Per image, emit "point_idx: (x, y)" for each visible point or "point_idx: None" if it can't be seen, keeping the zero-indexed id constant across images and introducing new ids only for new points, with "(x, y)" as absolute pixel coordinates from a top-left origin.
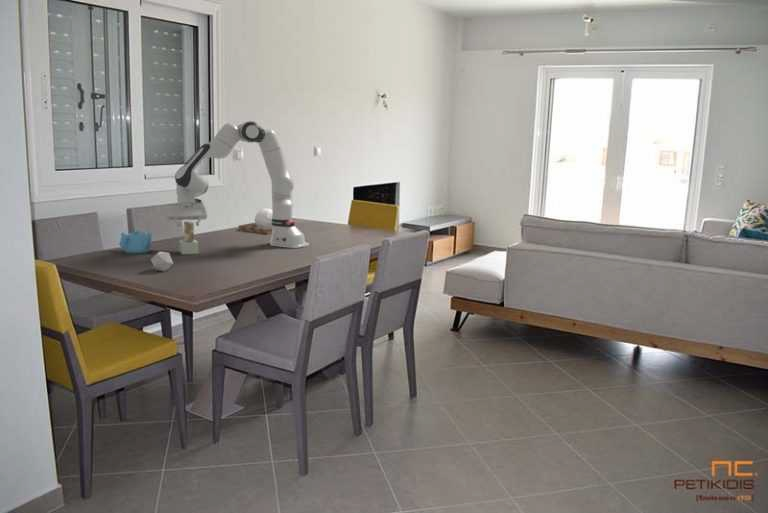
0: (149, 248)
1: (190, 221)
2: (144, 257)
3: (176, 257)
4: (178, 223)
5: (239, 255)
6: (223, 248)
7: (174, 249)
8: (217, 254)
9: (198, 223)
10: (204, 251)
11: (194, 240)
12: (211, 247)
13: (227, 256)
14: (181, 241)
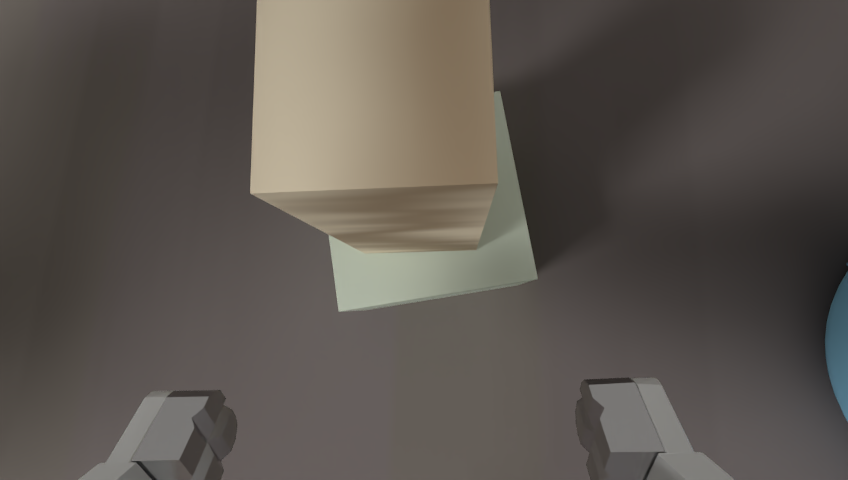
0: (842, 290)
1: (324, 140)
2: (819, 51)
3: (539, 25)
4: (628, 398)
5: (34, 53)
6: (98, 386)
7: (568, 404)
8: (195, 111)
9: (154, 398)
10: (288, 259)
11: (351, 252)
12: None
13: (131, 25)
14: (509, 201)
